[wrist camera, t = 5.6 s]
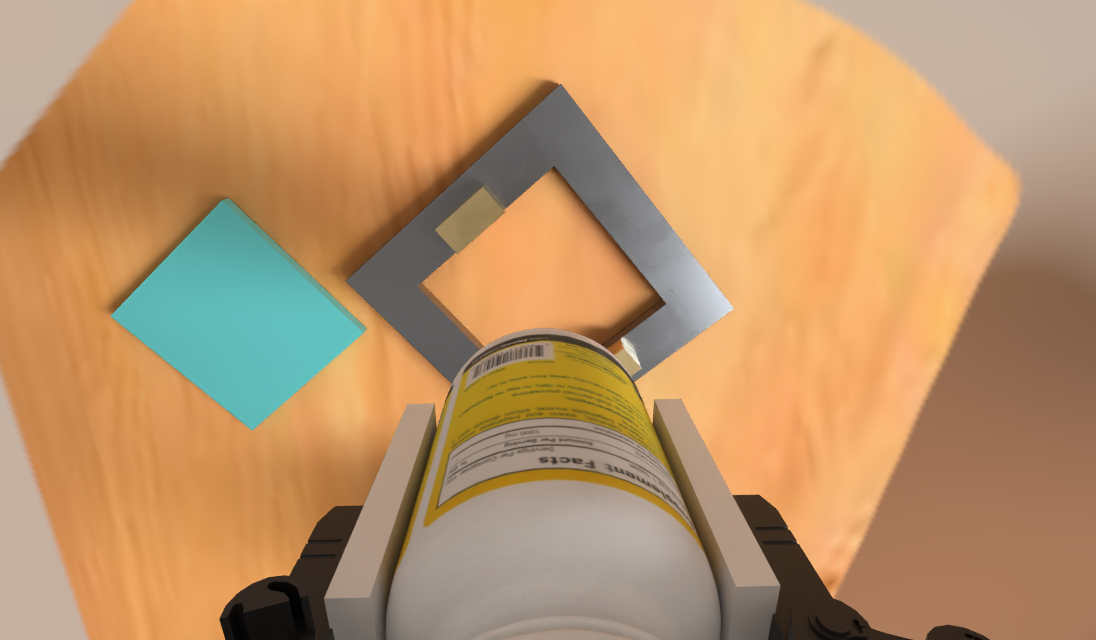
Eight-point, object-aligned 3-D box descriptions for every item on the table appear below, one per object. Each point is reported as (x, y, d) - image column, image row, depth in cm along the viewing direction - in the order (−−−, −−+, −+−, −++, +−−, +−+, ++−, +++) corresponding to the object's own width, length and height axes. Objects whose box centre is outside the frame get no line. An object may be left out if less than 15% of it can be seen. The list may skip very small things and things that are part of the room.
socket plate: (529, 450, 32) (529, 471, 30) (350, 276, 28) (337, 288, 26) (728, 303, 29) (742, 316, 27) (560, 84, 25) (562, 82, 23)
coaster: (257, 424, 31) (252, 430, 30) (118, 312, 28) (110, 316, 28) (366, 328, 29) (363, 332, 28) (228, 198, 26) (222, 199, 26)
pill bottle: (562, 520, 19) (600, 1005, 9) (410, 430, 18) (234, 885, 7) (680, 391, 17) (900, 800, 7) (522, 281, 16) (504, 591, 6)
